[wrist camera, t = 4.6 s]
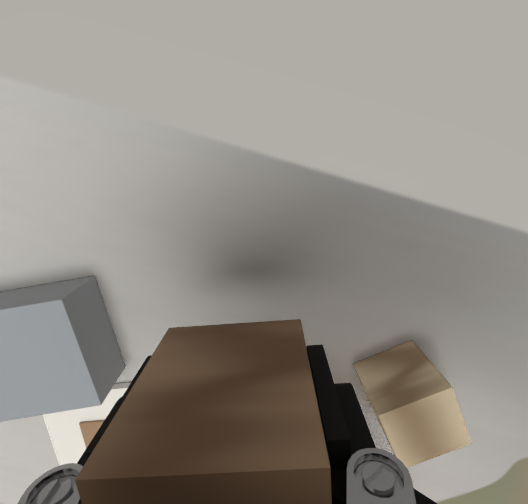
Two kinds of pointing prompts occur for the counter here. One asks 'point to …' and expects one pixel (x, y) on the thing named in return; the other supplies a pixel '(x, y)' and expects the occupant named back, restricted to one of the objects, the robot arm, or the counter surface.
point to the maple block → (413, 404)
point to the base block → (55, 349)
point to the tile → (79, 426)
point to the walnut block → (216, 424)
